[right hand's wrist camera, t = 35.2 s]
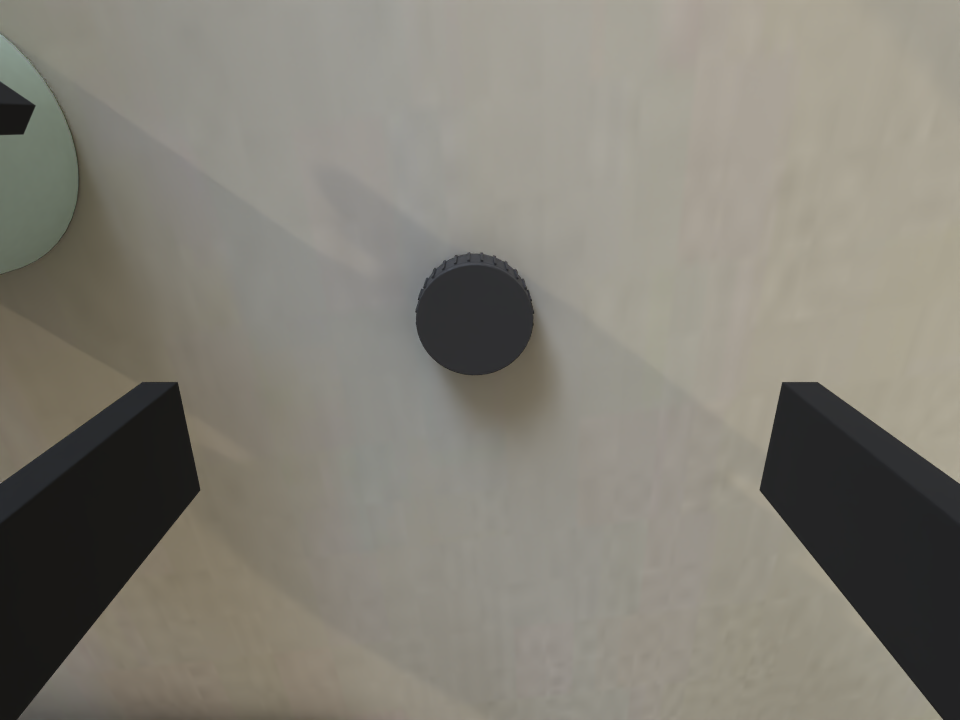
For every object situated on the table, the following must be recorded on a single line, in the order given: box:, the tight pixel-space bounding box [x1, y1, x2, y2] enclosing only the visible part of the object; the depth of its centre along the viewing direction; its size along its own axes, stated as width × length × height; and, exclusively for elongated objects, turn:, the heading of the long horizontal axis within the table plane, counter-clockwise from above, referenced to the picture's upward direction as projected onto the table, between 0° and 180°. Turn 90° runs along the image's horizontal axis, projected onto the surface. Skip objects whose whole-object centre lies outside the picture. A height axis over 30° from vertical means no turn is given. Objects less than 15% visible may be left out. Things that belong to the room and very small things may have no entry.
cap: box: [416, 252, 534, 375], centre depth 19 cm, size 4×4×2 cm
